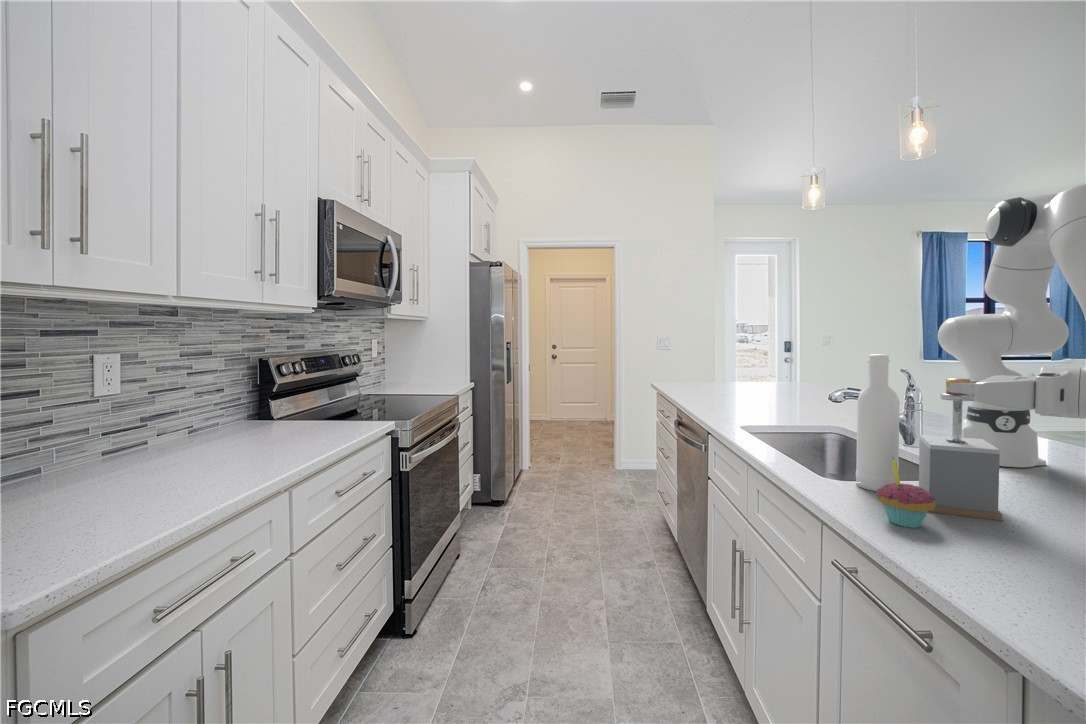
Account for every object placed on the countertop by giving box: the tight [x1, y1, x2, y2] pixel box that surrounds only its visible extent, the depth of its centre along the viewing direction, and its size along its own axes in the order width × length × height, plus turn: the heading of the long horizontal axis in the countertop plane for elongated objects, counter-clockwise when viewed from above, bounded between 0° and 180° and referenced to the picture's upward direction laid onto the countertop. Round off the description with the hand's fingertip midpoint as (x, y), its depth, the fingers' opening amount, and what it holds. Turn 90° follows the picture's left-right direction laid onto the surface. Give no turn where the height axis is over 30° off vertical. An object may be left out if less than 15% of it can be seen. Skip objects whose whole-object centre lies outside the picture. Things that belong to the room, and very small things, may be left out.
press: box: [918, 434, 1004, 521], centre depth 94 cm, size 11×11×13 cm
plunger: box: [940, 377, 975, 444], centre depth 93 cm, size 8×8×18 cm
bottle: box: [855, 353, 901, 492], centre depth 106 cm, size 8×8×30 cm
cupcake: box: [875, 456, 936, 529], centre depth 86 cm, size 9×8×12 cm
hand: (952, 386), depth 93 cm, fingers closed on plunger, 4 cm apart
